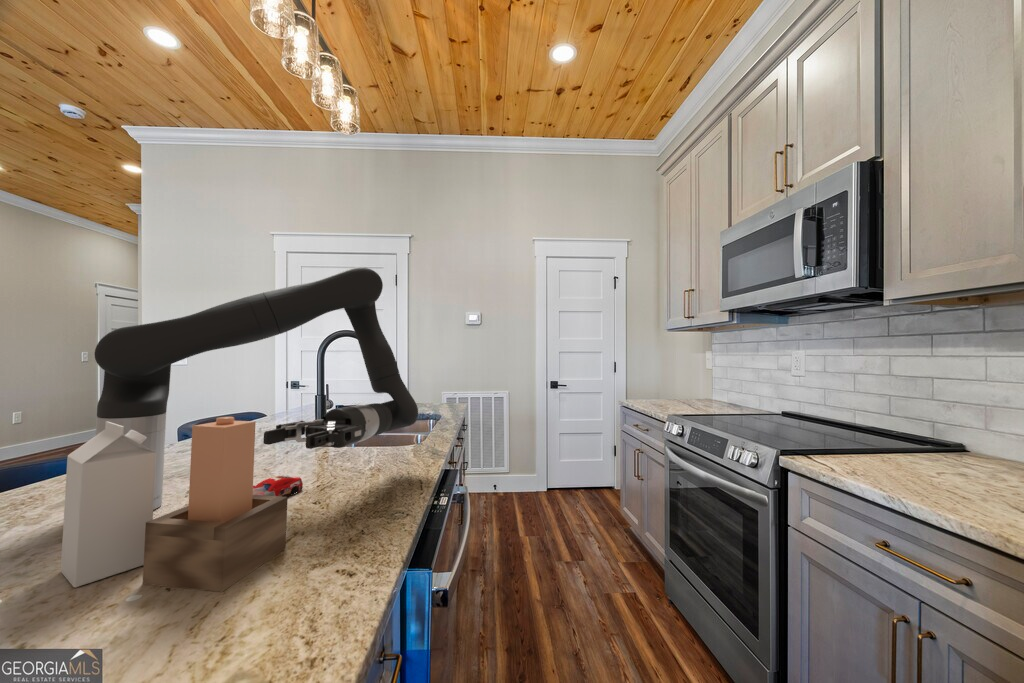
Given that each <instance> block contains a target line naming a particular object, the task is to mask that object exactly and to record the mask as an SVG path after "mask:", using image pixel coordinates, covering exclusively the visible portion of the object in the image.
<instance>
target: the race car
mask: <svg viewBox="0 0 1024 683" xmlns="http://www.w3.org/2000/svg"><path fill="white" fill-rule="evenodd" d="M303 484H304V483H303V480H302V478H301V477H299V476H284V475H278V476H273V477H270V478H269V477H268V478H266V479H264V480H262V481H260V482H259V483H257V484H255V485H253V495H265V496H281V497H287V496H288V497H289V496H292V495H291V494H294V493H296V492H298V491H299V492H301V491H302V490H303V487H304V486H303ZM294 495H295V494H294Z"/></svg>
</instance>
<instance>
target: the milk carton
mask: <svg viewBox="0 0 1024 683" xmlns="http://www.w3.org/2000/svg"><path fill="white" fill-rule="evenodd" d="M123 433H124V426H121V425H118V424H114V423H111V422H108V421H107V422H105V430H103V431H102V432H101V433H99V434H98V435H96V434H95V436H93V437H91V439H89V440H88V441H86V442H85V443H84V444H82V445H81V446H79V447H78V448H76V449H75V450H73V451H72V452H70V453H69V454H68V455H67V460H66V476H65V492H64V508H63V509H64V511H63V525H62V526H63V527H62V542H61V543H62V544H61V557H60V558H61V559H60V572H61V573H62V575H63V576H64V577H65V578H66V580H67V581H68V582H69V583H70V584H71V585H72V587H73V588H78V587H80V586H84V585H87V584H90V583H93V582H96V581H99V580H102V579H105V578H108V577H112V576H115V575H118V574H120V573H123V572H127V571H130V570H134V569H136V568H138V567H139V568H140V567H141V566H144V547H145V528H146V522H148V521H150V520H153V519H154V510H153V504H154V485H155V465H156V453H155V452H154V451H152V450H150V449H149V448H147V447H145V446H143V445H141V443H142V442H143V441H144V440H145V439H146V438H147V437H146V436H144V435H142V434H140V433H138V432H136V431H134V430H130V431H129V432H128V433H127V434H126V435H123Z"/></svg>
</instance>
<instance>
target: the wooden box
mask: <svg viewBox="0 0 1024 683" xmlns="http://www.w3.org/2000/svg"><path fill="white" fill-rule="evenodd" d="M288 497H289V496H288ZM288 497H281V496H265V495H253V497H252V509H251V510H249V511H247V512H245V513H243V514H241V515H239V516H237V517H235V518H233V519H231V520H229V521H227V522H211V521H198V520H188V507H189V505H186V506H184V507H182V508H179V509H176V510H174V511H171V512H169V513H165V514H164V515H161V516H158V517H156V518H153V520H150V521H148V522H146V528H145V547H144V565H143V572H142V573H143V574H142V585H150V586H161V587H171V588H178V589H179V588H180V589H181V588H182V589H192V590H201V591H212V592H221V593H222V592H224V591H226V590H227V589H229V588H231V586H232V587H233V585H234V584H236V583H238V582H239V581H240V580H242V579H243V578H245V577H246V576H247V575H249V574H251V573H253V571H255V570H256V569H258V568H259V567H261V566H262V565H264V564H265V563H267V562H268V561H269V560H271V559H273V558H274V557H276V556H277V555H279V554H280V553H281V552H282V551H285V549H286V548H287V546H286V545H287V526H288V525H287V521H288V520H287V519H288Z"/></svg>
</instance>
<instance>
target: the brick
mask: <svg viewBox="0 0 1024 683" xmlns="http://www.w3.org/2000/svg"><path fill="white" fill-rule="evenodd" d="M215 420H216V421H214V422H207V423H201V424H195V425H192V428H191V447H190V467H189V468H190V469H189V490H188V491H189V492H188V506H189V507H188V520H198V521H211V522H227V521H229V520H231V519H233V518H235V517H237V516H239V515H241V514H243V513H245V512H247V511H249V510H251V509H252V497H253V486H254V470H255V468H254V467H255V446H256V444H255V443H256V421H251V420H250V421H249V420H235V416H221V417H216V418H215Z"/></svg>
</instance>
